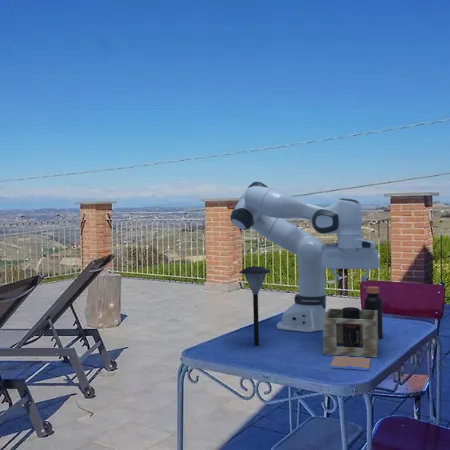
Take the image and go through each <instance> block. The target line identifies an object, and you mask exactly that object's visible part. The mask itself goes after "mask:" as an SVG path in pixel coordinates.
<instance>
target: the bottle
mask: <svg viewBox="0 0 450 450" xmlns="http://www.w3.org/2000/svg"><path fill="white" fill-rule="evenodd" d="M366 295H367V296H366V297H365V298H364V300H363V301H364V303H363V305H364V307H363V308H364V309H363V310H378V340H379V339H380V340H381V339H382V338H383V335H384V334H383V301H382V298H381V297H380V296H379V295H380V287H379V286H370V285H369V286H366Z"/></svg>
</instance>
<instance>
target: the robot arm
mask: <svg viewBox="0 0 450 450" xmlns="http://www.w3.org/2000/svg"><path fill="white" fill-rule="evenodd" d="M362 215H363V213H362V207H361V204H360V202H359V201H358V200H356V199H352V198H339V199H338V200H336V202H334V203H333V204H330V205H328V206H326V207H323V206H320V205H317V204H312V203H309V202H306V201H303V200H302V199H299V198H296V197H295V196H291V195H290V194H287V193H285V192H283V191H280V190H278V189H275V188H272V187H269V186H267V184H265V183H263V182H260V181H253V182H252V183H251V184H250V185H248V187H247V189H246V190H245V191H244V193H242V195H241V196H240V198H239V200H238V202H237V203H236V205H235V207H234V209H233V210H232V212H231V214H230V221H231V223H232V224H233V225H234V226H235V227H236V228H238V229H240V230H243V231H245V230H247V231H248V230H250V229H251V228H252V229H253V230H254V231H255V232H257V233H258V234H259V235H261V236H262V237H264V238H266V239H267V240H269V241H270V242H272V243H273V244H275V245H276V246H277V247H280V248H282V249H284V250H285V251H288V252H290V253H291V254H294V255H295V256H297V268H298V271H297V272H298V293H296V294H295V295H294V297H293V298H294V303H293V304H292V305H291V306H289V307H288V308H287V309H285V311H284V312H283V314H282V317H281V321H279V322H277V324H276V328H277V330H283V331H285V330H286V331H293V332H294V331H296V332H303V333H312V332H313V333H314V332H317V331H323V318H324V316H325V314H326V313H327V309H326V307H327V296H326V292H325V291H326V290H325V284H326V282H325V269H328V270H329V269H331V272H332V274H333V276H334V281H335V282H340V279H341V277H340V275H338V273H337V269H339V270H340V269H341V270H347V269H348V270H355V269H356V270H364V272H365V274H364V275H362V276H361V282H365V283H366V282H367V276H368V275H369V273H370V270H377V269H379V267H380V259H379V258H380V257H379V253H378V251H377V249H376V242H374V241H373V240H370V239H367V238H366V239H365V238H363V232H362V231H363V230H362V225H363V217H362ZM290 218H291V219H295V218H297V219H306V220H308V221H311V225H312V227H313V229H314V230H315V231H316V232H317V233H319V234H322V235H328V234H329V235H330V234H337V236H336V237H337V238H336V239H337V242H336V243H335V242H333V243H328V242H326V243H325V244H323V243H322V241H321V240H320V239H319V238H317V237H315V236H314V235H312V234H310V233H309V232H307V231H305V230H303V229H301V228H299V227H298V226H297V225H294V224H293V223H290V222H289V221H287V220H286V219H290Z"/></svg>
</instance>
